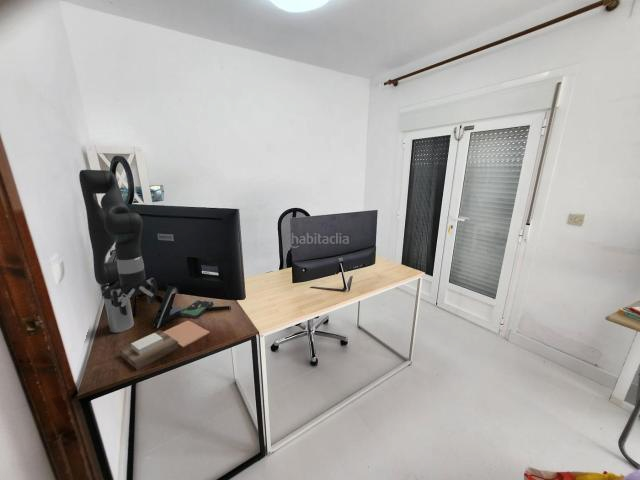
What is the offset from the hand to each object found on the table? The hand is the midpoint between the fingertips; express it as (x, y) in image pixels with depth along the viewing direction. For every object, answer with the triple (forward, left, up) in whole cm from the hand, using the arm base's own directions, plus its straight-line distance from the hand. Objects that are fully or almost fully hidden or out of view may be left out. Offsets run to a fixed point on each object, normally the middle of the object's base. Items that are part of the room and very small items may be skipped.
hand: (138, 309), depth 95 cm
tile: (-7, +4, -21) cm, 22 cm away
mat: (-7, +20, -24) cm, 32 cm away
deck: (-7, +4, -24) cm, 25 cm away
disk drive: (-22, +35, -24) cm, 48 cm away
